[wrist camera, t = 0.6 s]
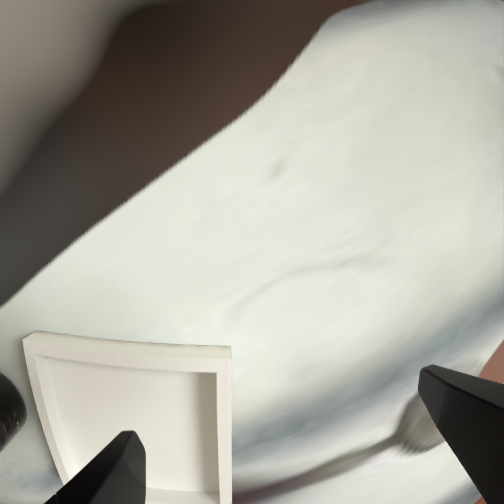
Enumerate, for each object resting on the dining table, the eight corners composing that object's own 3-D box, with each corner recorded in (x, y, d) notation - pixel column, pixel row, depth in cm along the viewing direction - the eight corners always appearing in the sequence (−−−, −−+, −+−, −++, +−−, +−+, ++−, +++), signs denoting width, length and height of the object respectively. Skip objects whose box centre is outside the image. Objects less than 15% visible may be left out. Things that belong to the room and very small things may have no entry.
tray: (231, 494, 24) (232, 512, 21) (73, 474, 23) (65, 489, 20) (231, 346, 23) (231, 359, 20) (37, 330, 21) (22, 339, 19)
